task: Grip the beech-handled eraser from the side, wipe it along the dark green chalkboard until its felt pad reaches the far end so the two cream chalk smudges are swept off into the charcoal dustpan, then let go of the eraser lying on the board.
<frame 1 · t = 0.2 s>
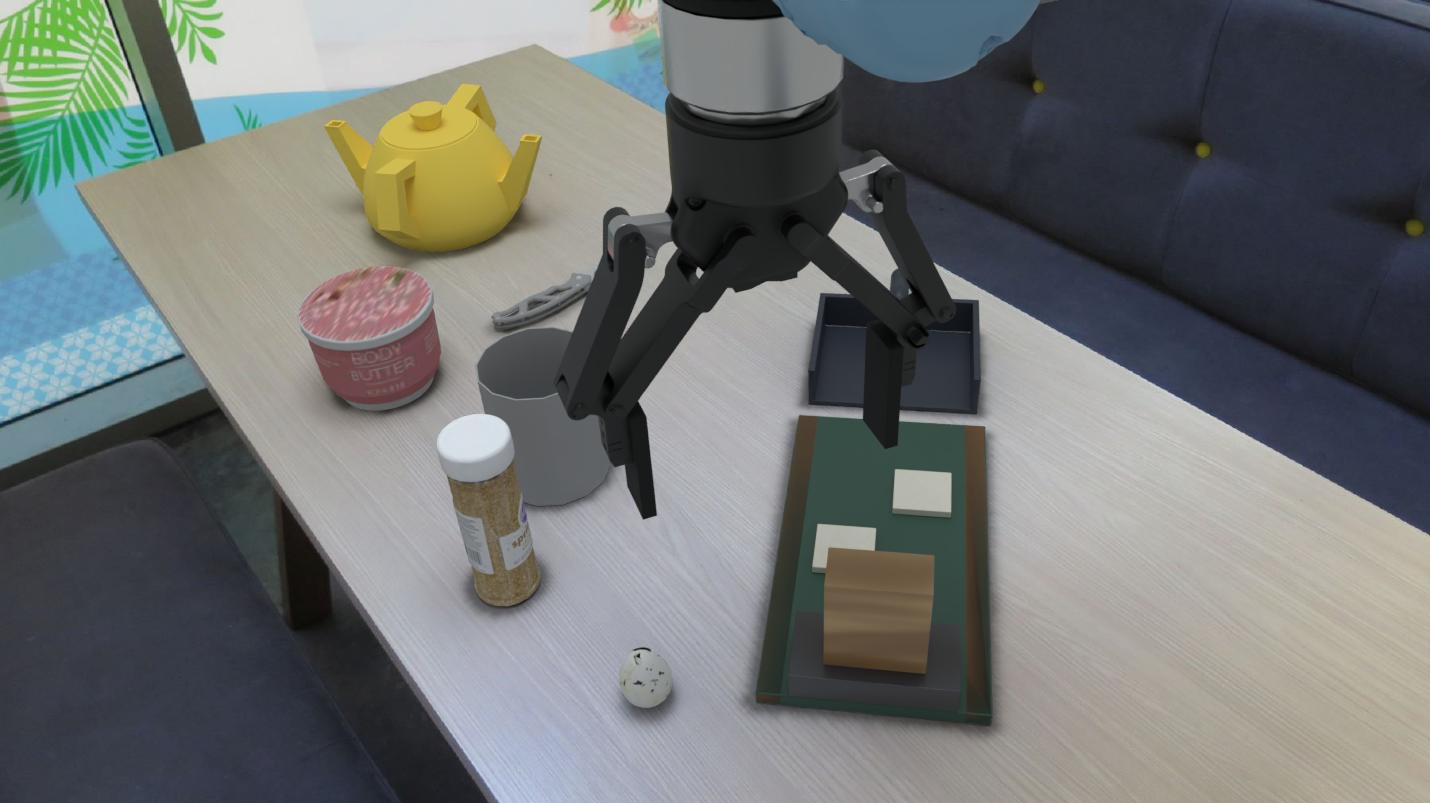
hand: (764, 466, 63), 17 cm above the table, tool pointing down, fingers open, 13 cm apart
knife: (576, 292, 108), on the table
chalkboard: (882, 555, 81), on the table
container: (388, 382, 99), on the table
dustpan: (894, 369, 97), on the table
egg: (648, 700, 73), on the table
eraser: (874, 670, 73), point 1 cm above the table, touching chalkboard
smudge b: (922, 496, 84), point 1 cm above the table, touching chalkboard
sprinkles bottle: (508, 585, 81), on the table
teapot: (450, 219, 119), on the table
cup: (555, 468, 90), on the table
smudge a: (844, 553, 80), point 1 cm above the table, touching chalkboard
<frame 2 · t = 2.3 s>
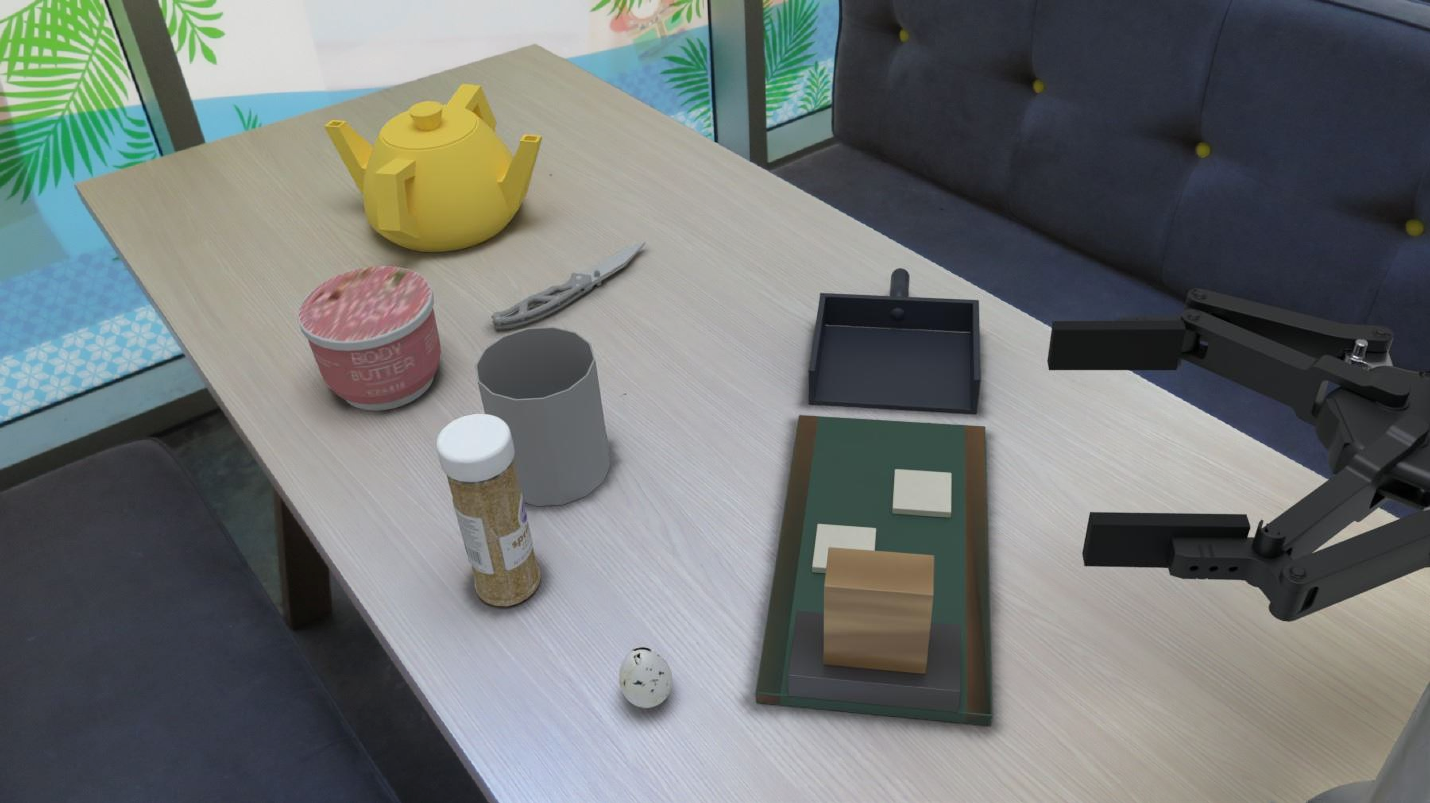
hand: (1066, 434, 58), 22 cm above the table, tool horizontal, fingers open, 13 cm apart
nothing on the table moved.
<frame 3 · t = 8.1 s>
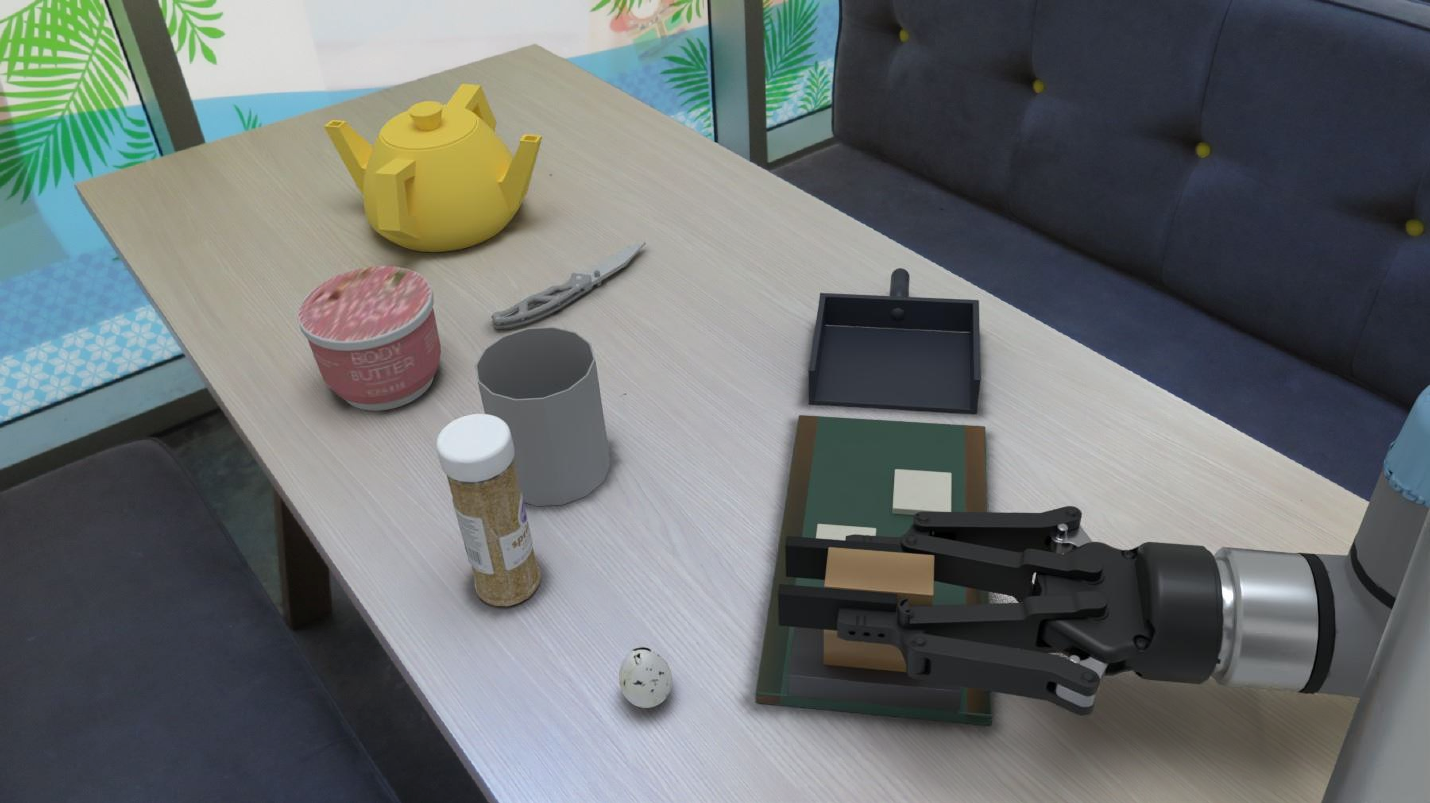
hand: (783, 580, 69), 8 cm above the table, tool horizontal, fingers closed on eraser, 3 cm apart
eraser: (874, 670, 73), point 1 cm above the table, touching chalkboard, gripper
everything else where it was.
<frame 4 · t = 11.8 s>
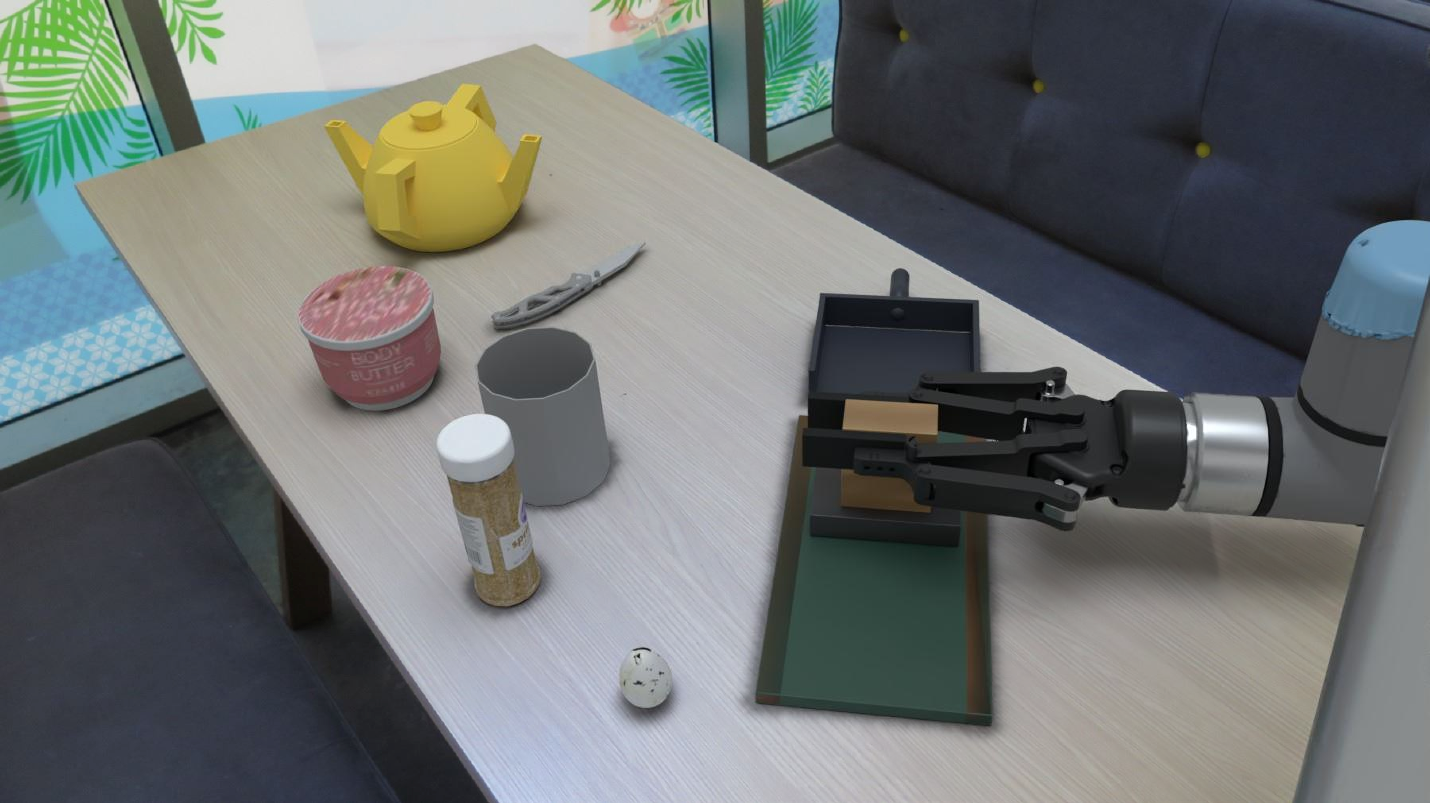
hand: (806, 428, 79), 9 cm above the table, tool horizontal, fingers closed on eraser, 3 cm apart
eraser: (885, 515, 83), point 1 cm above the table, touching gripper, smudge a
smudge b: (922, 473, 86), point 1 cm above the table, touching chalkboard
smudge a: (852, 469, 87), point 1 cm above the table, touching chalkboard, eraser
everything else where it was.
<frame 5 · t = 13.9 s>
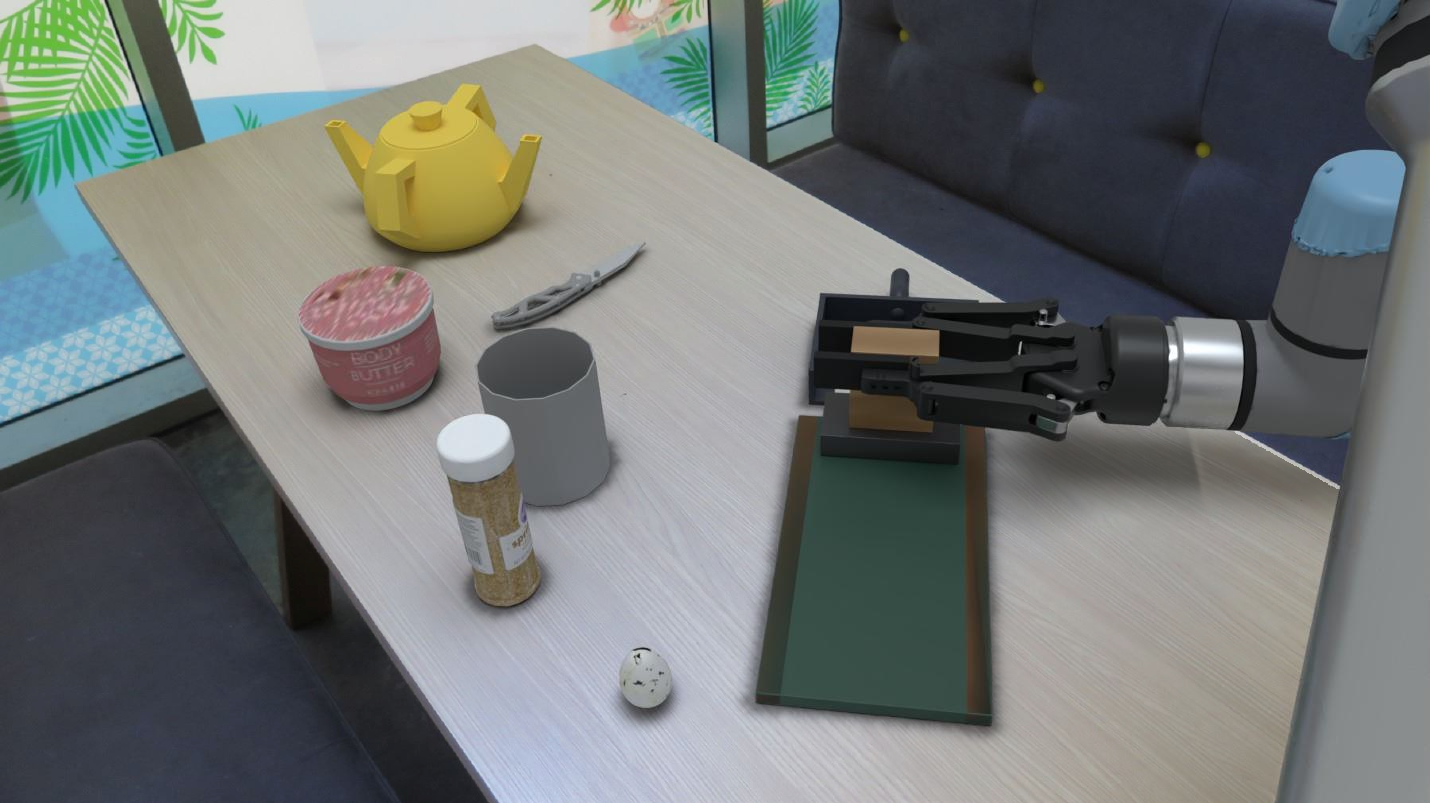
hand: (817, 353, 85), 9 cm above the table, tool horizontal, fingers closed on eraser, 3 cm apart
eraser: (890, 437, 89), point 1 cm above the table, touching gripper
smudge b: (924, 409, 92), on the table, tilted 10°, touching dustpan
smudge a: (859, 405, 93), on the table, tilted 10°, touching dustpan
everything else where it was.
when the fingers open (9 cm above the table, at t = 14.5 s): eraser stays where it is, resting on chalkboard.
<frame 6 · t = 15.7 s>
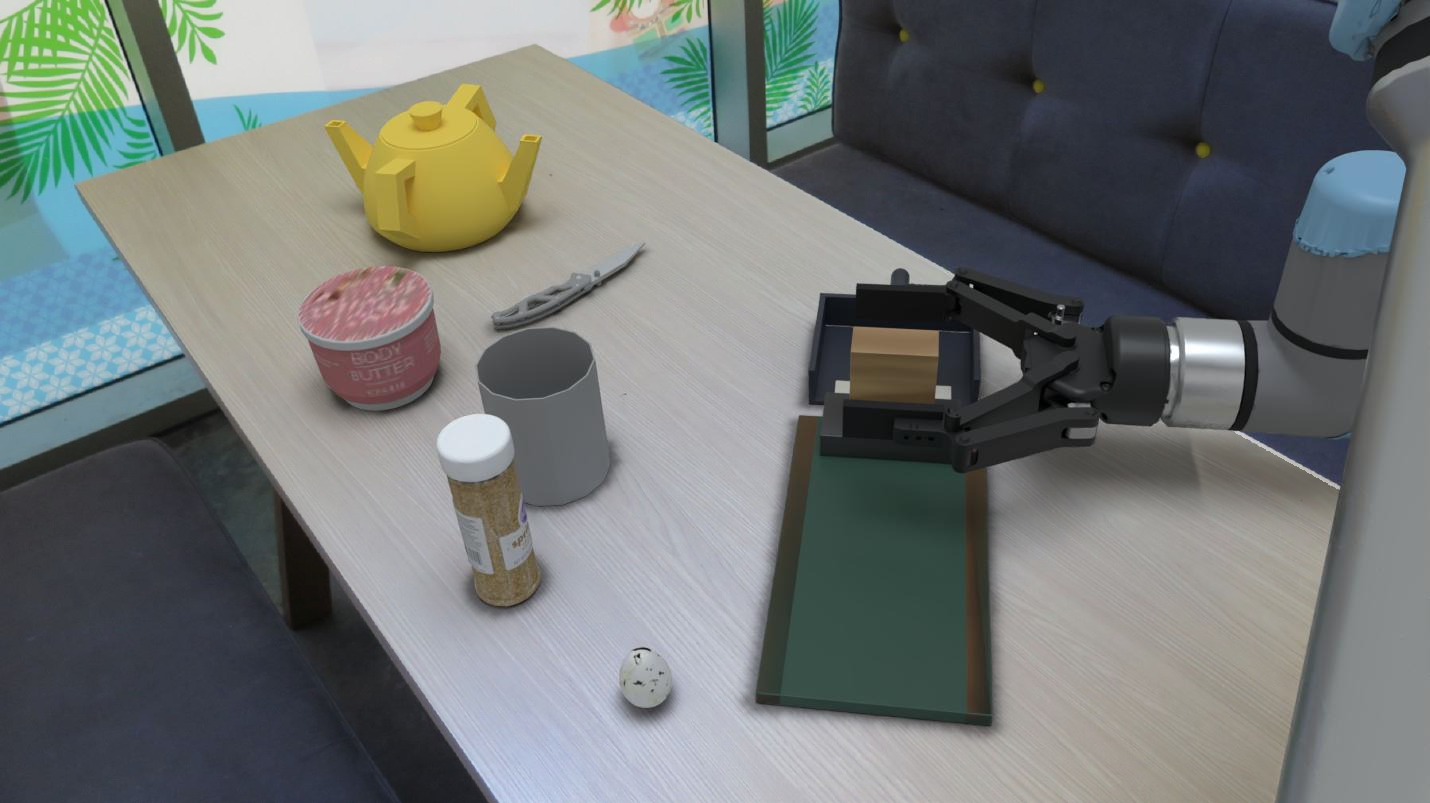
hand: (849, 355, 85), 9 cm above the table, tool horizontal, fingers open, 13 cm apart
eraser: (889, 437, 89), point 1 cm above the table, touching chalkboard
everything else where it was.
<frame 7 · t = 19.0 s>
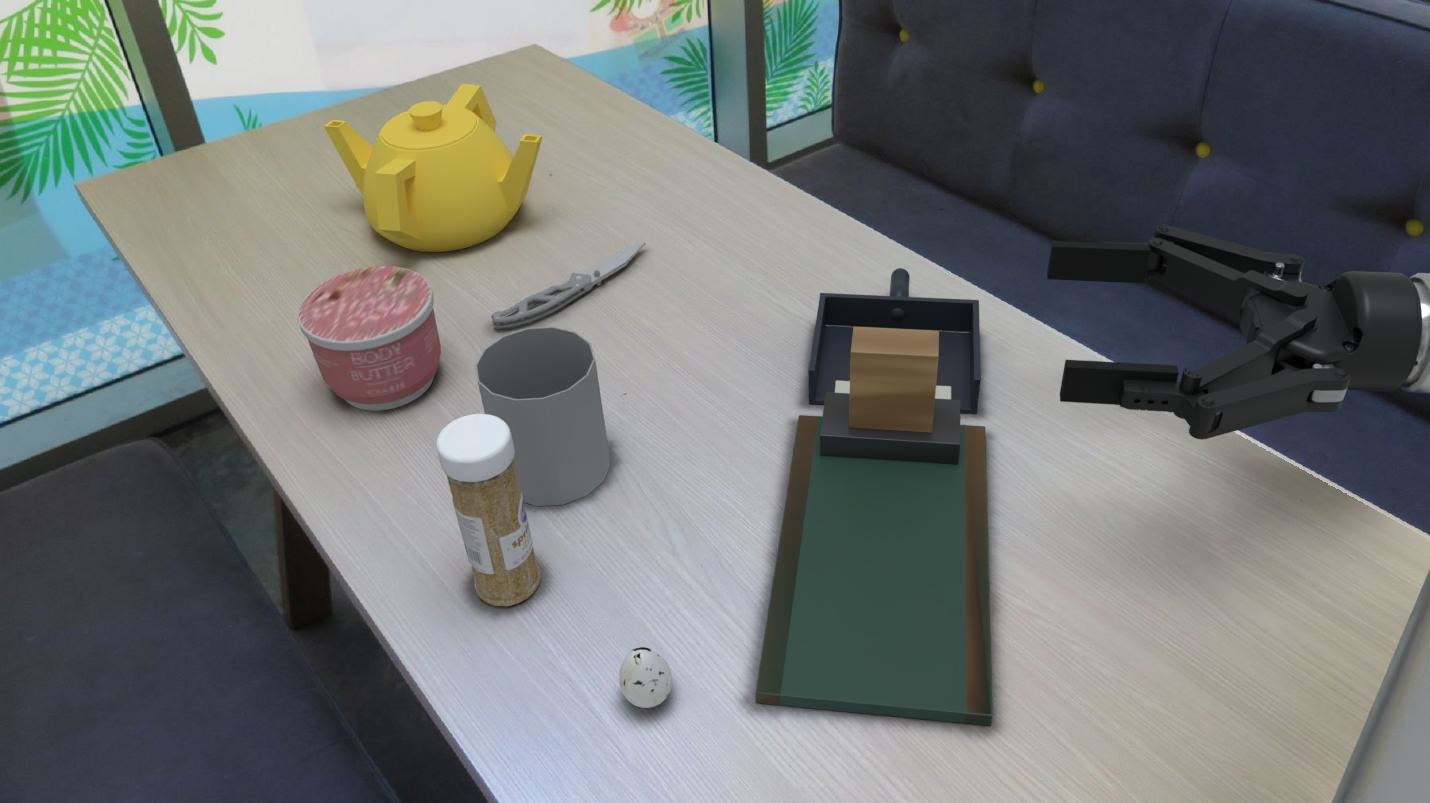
hand: (1054, 316, 78), 14 cm above the table, tool horizontal, fingers open, 13 cm apart
nothing on the table moved.
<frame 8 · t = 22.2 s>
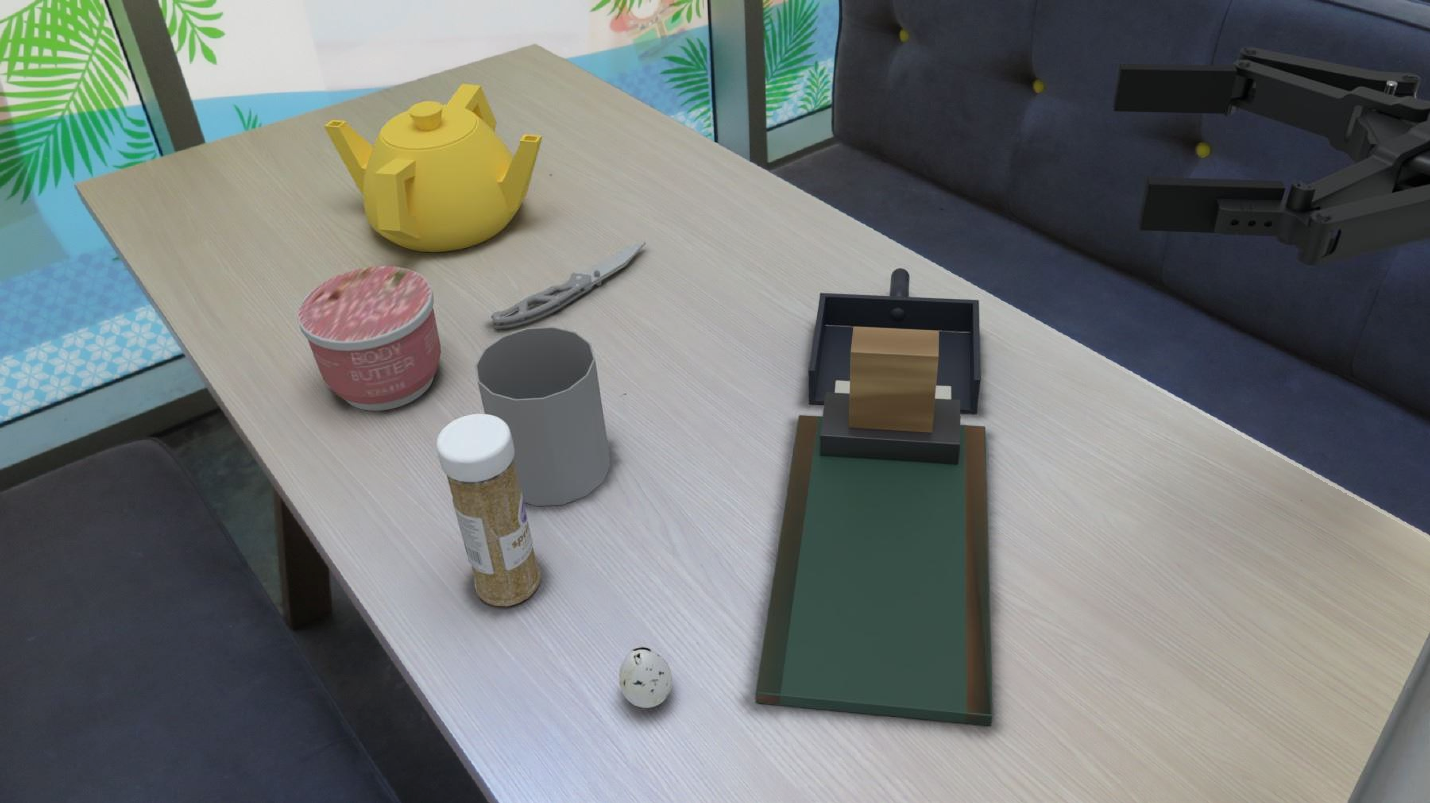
hand: (1128, 141, 67), 28 cm above the table, tool horizontal, fingers open, 13 cm apart
nothing on the table moved.
at the end: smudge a inside the target area in the dustpan (5.8 cm from its centre), point 0.4 cm above the dustpan's base; smudge b inside the target area in the dustpan (5.8 cm from its centre), point 0.4 cm above the dustpan's base; eraser inside the target area on the chalkboard (1.1 cm from its centre), point 1.0 cm above the chalkboard's base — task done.
